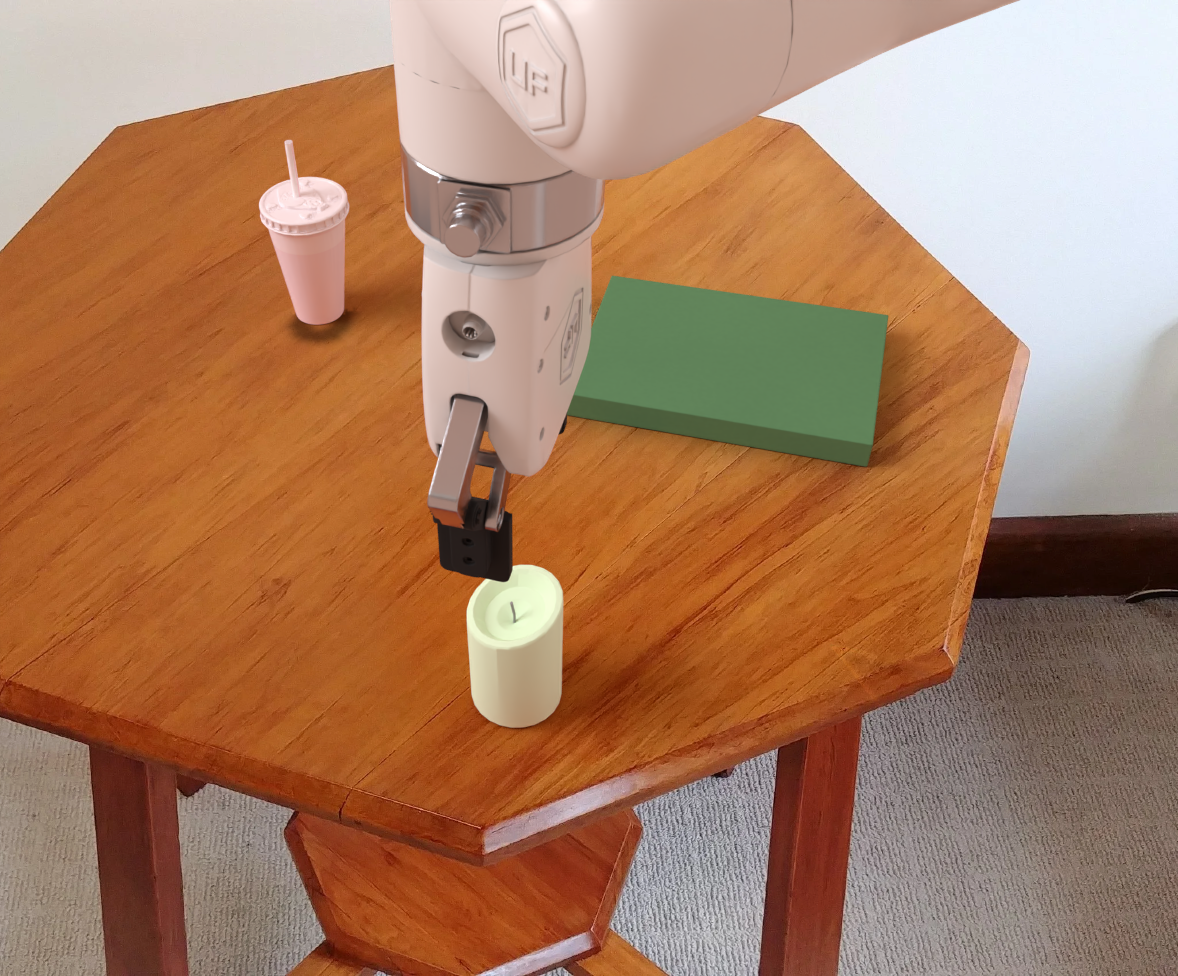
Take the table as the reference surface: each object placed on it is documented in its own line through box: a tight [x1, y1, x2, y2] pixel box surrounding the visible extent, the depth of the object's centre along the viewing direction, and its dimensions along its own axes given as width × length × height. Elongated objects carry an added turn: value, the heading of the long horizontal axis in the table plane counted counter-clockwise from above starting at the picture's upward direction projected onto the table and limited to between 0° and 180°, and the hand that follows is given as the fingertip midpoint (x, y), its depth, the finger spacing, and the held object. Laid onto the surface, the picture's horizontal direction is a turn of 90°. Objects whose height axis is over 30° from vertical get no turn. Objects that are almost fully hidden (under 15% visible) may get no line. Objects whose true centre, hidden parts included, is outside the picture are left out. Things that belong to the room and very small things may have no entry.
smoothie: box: [258, 139, 350, 326], centre depth 90 cm, size 6×6×14 cm
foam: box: [567, 275, 889, 468], centre depth 86 cm, size 20×14×2 cm
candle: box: [466, 564, 564, 729], centre depth 66 cm, size 5×5×8 cm
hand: (506, 495), depth 58 cm, fingers open, 9 cm apart
